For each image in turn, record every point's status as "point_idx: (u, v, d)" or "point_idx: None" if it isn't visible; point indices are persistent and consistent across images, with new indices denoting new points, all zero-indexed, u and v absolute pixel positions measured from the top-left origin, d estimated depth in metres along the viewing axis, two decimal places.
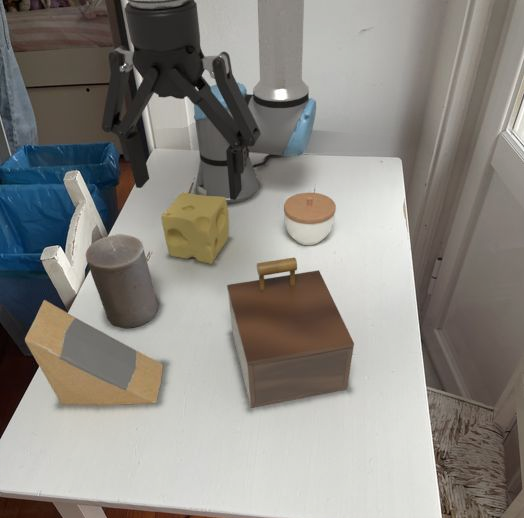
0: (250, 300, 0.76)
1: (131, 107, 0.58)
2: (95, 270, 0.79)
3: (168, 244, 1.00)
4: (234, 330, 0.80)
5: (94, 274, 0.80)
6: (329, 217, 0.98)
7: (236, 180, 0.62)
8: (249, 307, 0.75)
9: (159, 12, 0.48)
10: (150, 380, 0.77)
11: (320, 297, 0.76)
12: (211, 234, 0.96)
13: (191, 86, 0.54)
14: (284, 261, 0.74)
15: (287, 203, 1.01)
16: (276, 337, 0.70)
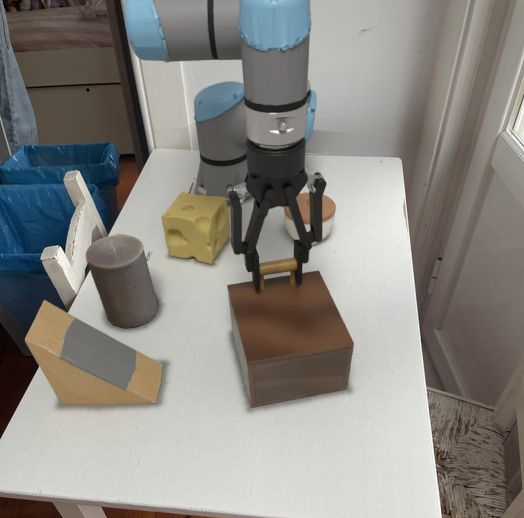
0: (250, 300, 0.76)
1: (255, 228, 0.68)
2: (95, 270, 0.79)
3: (168, 244, 1.00)
4: (234, 330, 0.80)
5: (94, 274, 0.80)
6: (329, 217, 0.98)
7: None
8: (249, 307, 0.75)
9: (293, 150, 0.59)
10: (150, 380, 0.77)
11: (320, 297, 0.76)
12: (211, 234, 0.96)
13: (296, 200, 0.66)
14: (284, 261, 0.74)
15: None
16: (276, 337, 0.70)
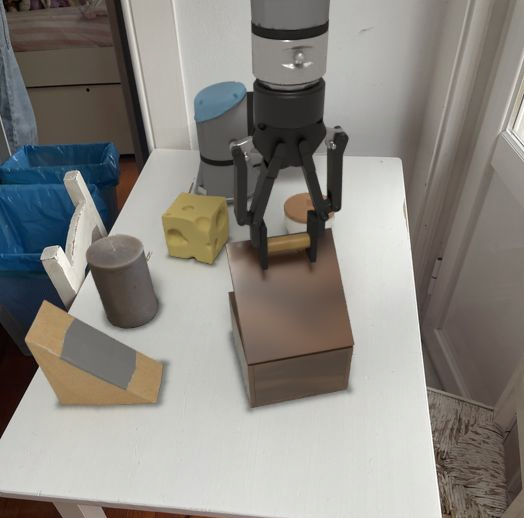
0: (252, 272, 0.68)
1: (262, 193, 0.57)
2: (95, 270, 0.79)
3: (168, 244, 1.00)
4: (234, 330, 0.80)
5: (94, 274, 0.80)
6: (329, 217, 0.98)
7: None
8: (250, 283, 0.68)
9: (311, 91, 0.48)
10: (150, 380, 0.77)
11: (328, 273, 0.69)
12: (211, 234, 0.96)
13: (312, 159, 0.55)
14: (296, 241, 0.64)
15: (287, 203, 1.01)
16: (278, 331, 0.68)
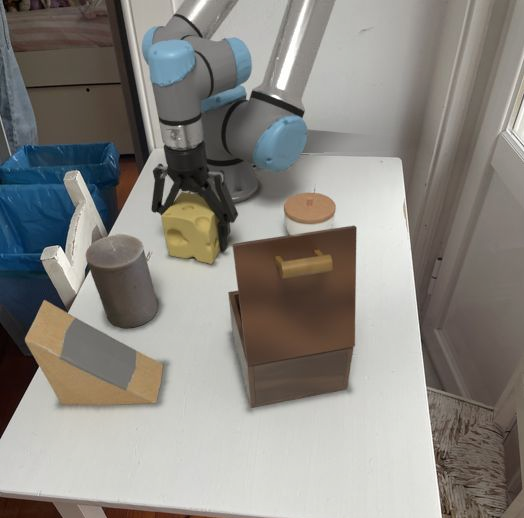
0: (261, 278, 0.61)
1: (168, 198, 0.96)
2: (95, 270, 0.79)
3: (168, 244, 1.00)
4: (234, 330, 0.80)
5: (94, 274, 0.80)
6: (329, 217, 0.98)
7: (224, 240, 1.01)
8: (258, 290, 0.62)
9: (184, 152, 0.85)
10: (150, 380, 0.77)
11: (342, 278, 0.63)
12: (211, 234, 0.96)
13: (200, 188, 0.92)
14: (317, 269, 0.56)
15: (287, 203, 1.01)
16: (281, 336, 0.66)
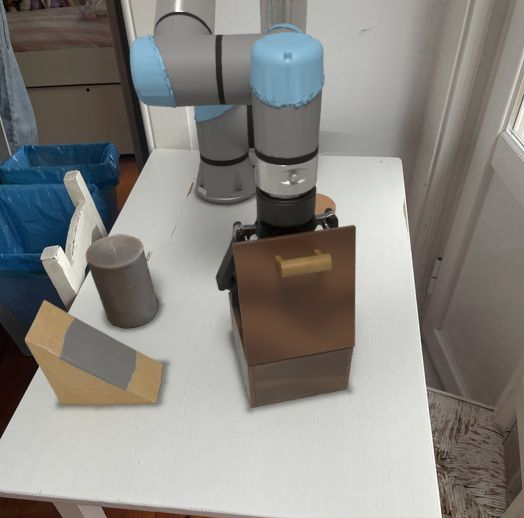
0: (260, 277, 0.61)
1: None
2: (95, 270, 0.79)
3: None
4: (234, 330, 0.80)
5: (94, 274, 0.80)
6: None
7: None
8: (258, 289, 0.62)
9: (304, 199, 0.58)
10: (150, 380, 0.77)
11: (342, 277, 0.63)
12: None
13: None
14: (317, 268, 0.57)
15: None
16: (281, 335, 0.66)
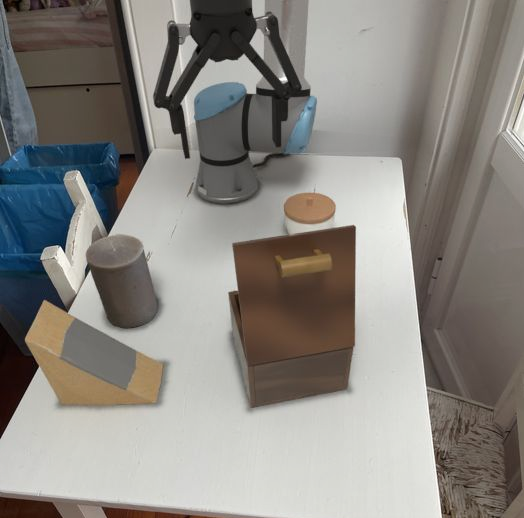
0: (260, 277, 0.61)
1: (187, 77, 0.63)
2: (95, 270, 0.79)
3: None
4: (234, 330, 0.80)
5: (94, 274, 0.80)
6: (329, 217, 0.98)
7: None
8: (258, 289, 0.62)
9: None
10: (150, 380, 0.77)
11: (342, 277, 0.63)
12: None
13: (250, 45, 0.61)
14: (317, 268, 0.57)
15: (287, 203, 1.01)
16: (281, 335, 0.66)
